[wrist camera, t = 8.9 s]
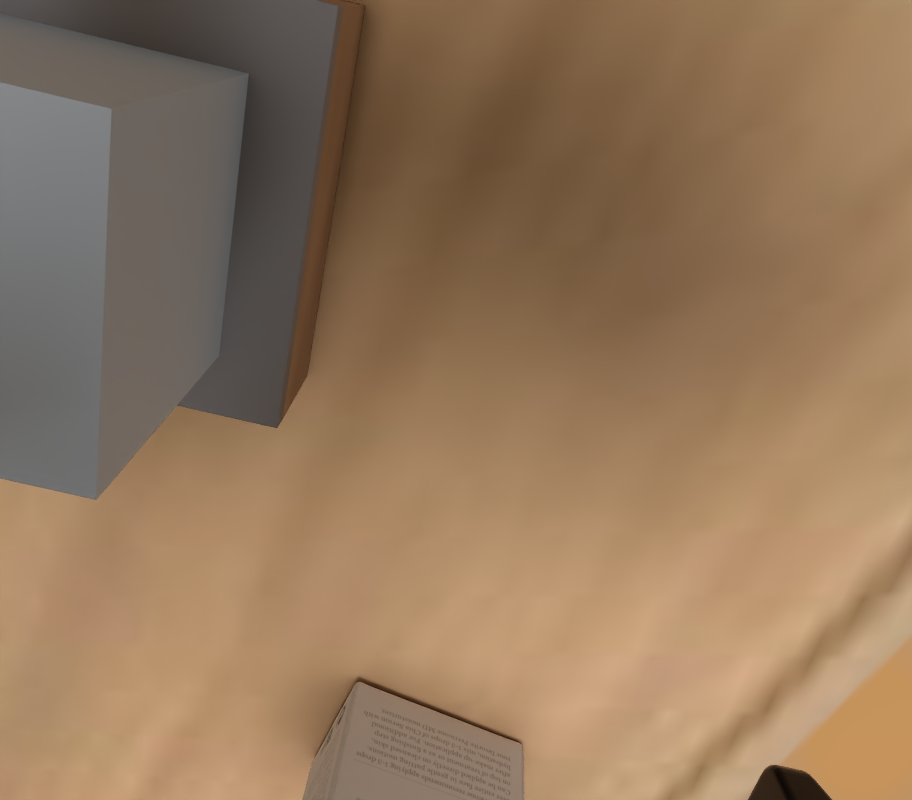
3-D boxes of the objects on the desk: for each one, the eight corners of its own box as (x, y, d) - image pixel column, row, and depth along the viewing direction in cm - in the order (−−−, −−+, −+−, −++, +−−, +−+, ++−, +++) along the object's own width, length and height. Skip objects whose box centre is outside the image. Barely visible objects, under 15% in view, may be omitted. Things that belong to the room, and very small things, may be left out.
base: (-34, 297, 22) (-113, 339, 19) (-49, -95, 18) (-150, -113, 15) (307, 375, 22) (277, 428, 19) (365, 5, 18) (337, 6, 15)
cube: (-50, 294, 18) (-287, 414, 13) (-63, -2, 16) (-364, -4, 10) (219, 355, 19) (96, 499, 13) (248, 73, 16) (112, 108, 11)
